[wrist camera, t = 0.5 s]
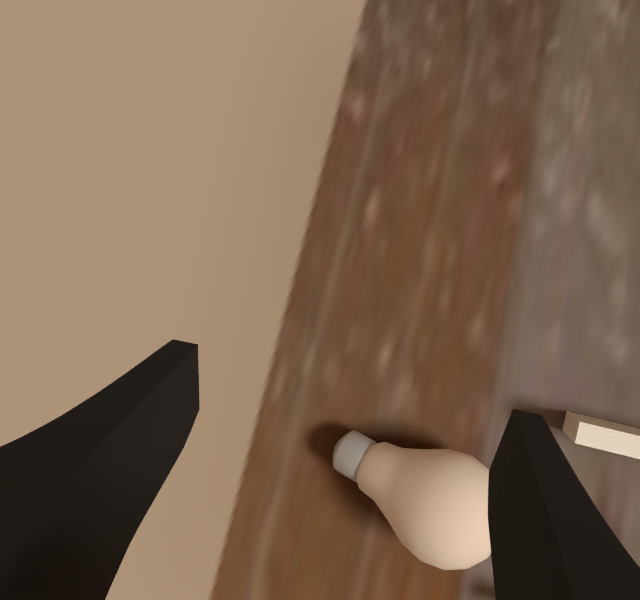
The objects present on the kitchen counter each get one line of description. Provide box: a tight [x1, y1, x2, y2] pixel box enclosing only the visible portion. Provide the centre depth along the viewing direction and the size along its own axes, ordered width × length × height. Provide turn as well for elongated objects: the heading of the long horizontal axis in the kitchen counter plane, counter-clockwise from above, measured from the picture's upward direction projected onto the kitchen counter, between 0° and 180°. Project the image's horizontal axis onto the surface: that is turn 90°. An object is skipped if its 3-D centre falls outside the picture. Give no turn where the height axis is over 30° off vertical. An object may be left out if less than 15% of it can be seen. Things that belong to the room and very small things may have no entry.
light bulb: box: [333, 431, 491, 570], centre depth 34 cm, size 7×7×11 cm
